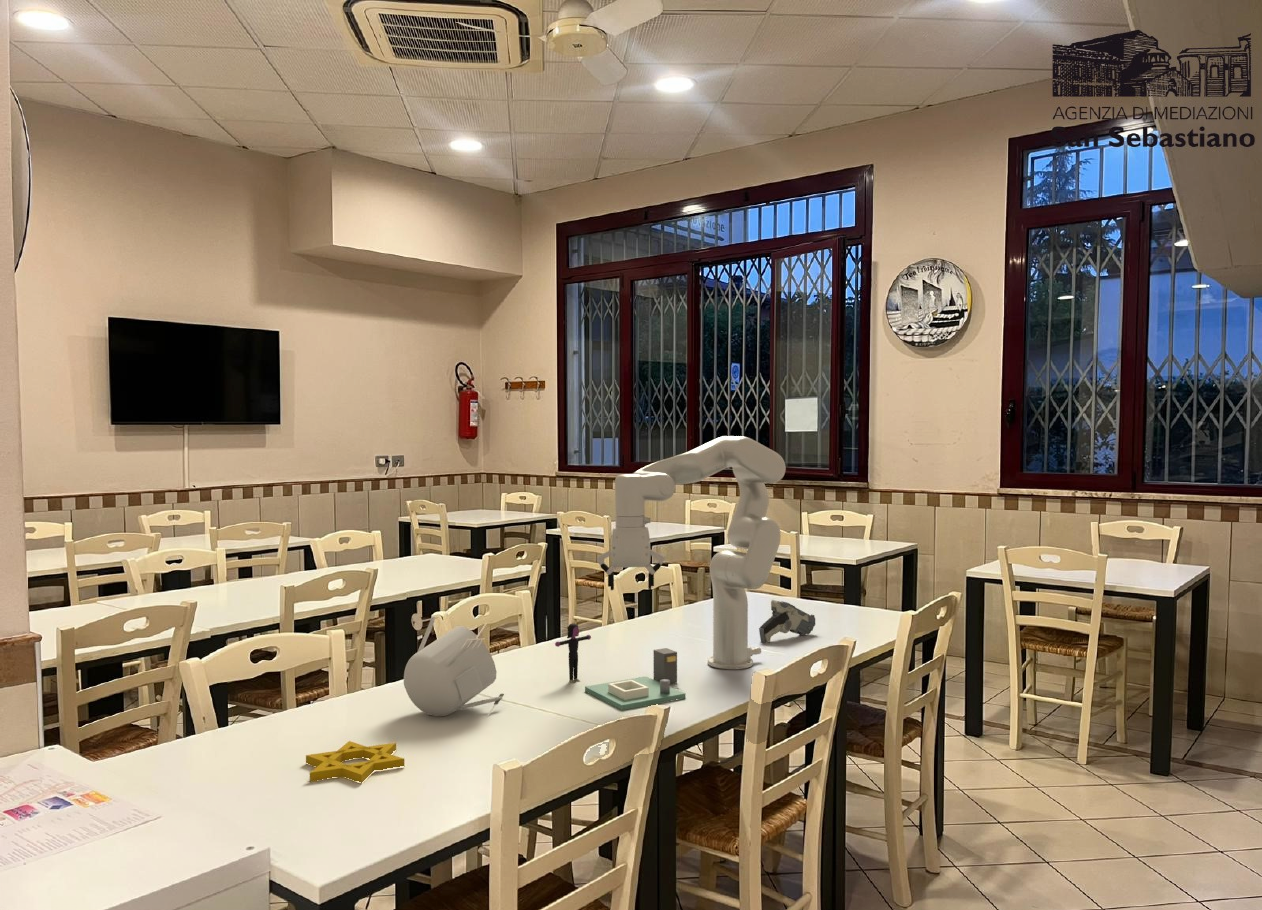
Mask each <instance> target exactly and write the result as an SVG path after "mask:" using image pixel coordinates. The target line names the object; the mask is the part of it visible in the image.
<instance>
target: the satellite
mask: <svg viewBox="0 0 1262 910" xmlns="http://www.w3.org/2000/svg"><path fill="white" fill-rule="evenodd" d="M437 619H439V618H438V616H436V617H435V616H434V615H432V616H431V618H427V619H422V617H421V615H420V614H419V613H413V614H412V616H411V624H412V627H413V628H414V630H416V631H421V630H422V629H423V628H422V627H423V622H427V621H429V622H428V625H427V628H426V630H425V632H424V635H423V638H422V640H421V643H420V645H419V648H418V649H417V652H415V654H413V655H412V656H411V657H410V658H409V659H408V661H407V663H406V665H405V668H404V672H403V686H404V689H405V691H406V694H407V695H408V698H409V699H410V701H411V702H412V704H413V705H414V706H416V708H418V710H420V711H421V712H423V713H425V714H426V715H429V716H433V717H446V716H448V715H449V716H450V715H451V714H453V713H454V712H456V711H457V710H458V711H459V710H464V709H469V708H472V707H477V706H481V705H485V704H491V703H493V706H492V708H491V709H490V711H489V713H488V714H487V716H490V714H491V713H492V711H493V710H494V708H495V707H496V706H497V705H498V704H499V703H500V702H501V700H503V697H504V695H505V693H499V695H498V696H495V697H490V698H486V699H481V700H477V701H474V702H469V701H472V699H474V698H475V697H476V696H478V695H479V694H480V693H482V692H483V691H484V690H486V689H488V687H490V686H491V685H492V684H494V683H495V681H496V679H497V667H496V664H495V661H494V659H493V656H492V654H491V653H490V651H489V649H488V647H487V646H486V644H485V643H484V641H485V640H486V638H484V637H483V638H480V637H481V636H482V633H483V632H484V629H485V628H486V627H487V625H488V623H487V622H485V623H484V625H483V627H482V628H481V629H480V631H479V633H478V634H476V633H475V632H473V631H472V629H470V628H468V627H466V626H463V625H457V626H455V627H453V628H452V629H450V630H449V631H447V632H446V633H445V634H443V635H441V636H440V637H438V638H437V639H435V640H434V641H433V642H431V643H429V644H428V645H426V643H427V640H428V638H429V636H430V633H431V631H432V629H433V626H434V625H435V620H437ZM425 645H426V646H425ZM468 702H469V703H468Z"/></svg>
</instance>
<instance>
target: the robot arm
mask: <svg viewBox="0 0 1262 910" xmlns="http://www.w3.org/2000/svg"><path fill="white" fill-rule="evenodd" d="M727 468H732V473H733V475H734V477H735V479H736V482H737V484H738V489H739V498H738V501H737V505H736V507H735V511H734V512H733V515H732V518H731V521H730V523H729V527H728V530H727V534H726V535H727V536H726V537H727V541H728V543H729V544H730V545H731V546H733V547H735V548H738V549H743V550H747V552H743V551H737V550H730V549H729V550H726V549H725V550H720V551H718V552H716V554H714V555H713V557H712V558H711V560H710V562H709V574H710V575H709V576H710V581H711V586H712V597H713V598H712V599H713V600H712V601H713V603H712V604H713V605H712V606H713V608H712V610H713V613H712V614H713V615H712V618H713V620H712V621H713V622H712V624H713V625H712V626H713V627H712V635H713V636H712V640H713V641H712V647H713V648H712V653H713V654H712V656H709V657H708V658H707V664H708V666H710V667H713V668H716V669H724V670H742V669H748V668H750V667H752V666H753V665H754V660H753V659H752V657H753V656H754V655H756V656H757V655H760V654H762V648H761V647H759V646H757V647H753V648H752V647H751V646H748V645H749V643H748V637H749V636H748V635H749V634H748V633H749V632H748V630H749V629H748V627H749V623H748V621H749V620H748V619H749V617H748V615H749V614H748V613H749V612H748V611H749V609H748V608H749V607H748V606H749V604H748V603H749V602H748V597H747V596H748V595H747V592H746V589H747V590H757V589H760V588H762V587H763V585H764V584H765V583H766V581H767V580H768V577H769V575H770V572H771V570H772V567H773V564H774V562H775V558H776V556H777V553H778V550H779V548H780V544H781V535H782V533H781V528H780V527H779V525H778V523H777V522H776V521H775V520H774V519H773V518H771V517H767V516H766V515H767V513H768V508H769V507H770V497H769V492H768V489H767V487H766V485H765V484H775V483H778V482H779V481H781V480H782V479H783V478H784V476H785V473H786V471H787V469H786V462H785V460H784V459H783V457H782V455H780V454H779V453H778V452H776V451H774V450H773V449H770V448H769V447H767V446H765V445H764V444H761V443H760V442H758V441H756V440H754V439H753V438H750V437H747V436H741V435H740V436H739V435H738V436H737V435H736V436H734V435H728V436H727V435H722V436H720V437H717V438H715V439H712V440H710V441H708V442H705V443H704V444H702V445H699V446H697V447H695V448H693V449H691V450H689V451H686V452H684V453H680V454H677V455H675V456H674V455H673V456H670V457H668V458H664V459H662V460H658V461H656V462H653V463H650V464H648V465H645V466H644V467H641V468H640V469H638V470H636V471H634V472H632V473H623V474H622V473H621V474H618V475H616V477H615V480H614V491H615V492H614V493H615V495H614V498H615V499H614V500H615V501H614V502H615V503H614V505H615V506H614V507H615V508H614V509H615V515H614V516H615V526H614V527H613V528H612V530H611V538H610V539H611V541H610V549H609V550H607V551H605V552H604V553H602V554H600V555H598V556H597V557H596V561H597V563H598V564H599V566H600V569H602V570H603V571H604V572H605V573H606V575H607V587H610V591H614V590H615V582H614V581H615V579H614V578H615V576H614V575H615V574H614V571H615V570H616V569H617V568H645V569H646V570H647V571H648V573H647V576H648V577H647V579H648V583H647V585H648V587H647V588H648V591H652V587H654V586H655V574H656V572H657V571H658V570H659V569H660V568H661V566H662V565H663V563H664V560H665V559H666V558H665V556H664V555H663V554H661V553H659V552H658V551H657V552H656V551H655V550H653V549H652V548H651V540H650V532H649V527H648V526H646V525H647V524H651V522H652V521H651V517H646V507H645V506H646V501H648V502H666V501H668V500H669V499H671V498H672V497H673V495H674V494H675V491H676V485H677V486H678V485H688V484H692V483H693V484H694V483H697V482H701V481H703V480H705V479H707V478H709V477H712V476H713V475H715V474H717V473H720V472H721V471H723V470H725V469H727ZM609 557H610V564H611V565H610V566H608V564H606V563H605V561H604V560H605V559H608V558H609ZM652 557H654V558H655V559H657V562H656V563H655V564H654V565H651V560H652V559H651V558H652Z"/></svg>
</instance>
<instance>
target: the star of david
mask: <svg viewBox="0 0 1262 910" xmlns="http://www.w3.org/2000/svg"><path fill="white" fill-rule="evenodd" d="M395 750H396V751H397V742H391V743H383V744H378V745H377V744H376V745H369V746H366V745H363V744H360V743H356V742H355V741H351V740H349V741H347V742H346V743H344V745H342V746H341V747H340V748H339V749H338V750H334V751H328V752H319V753H312V754H306V755H305V764H306V763H308V764H310V765H312V766H311V767H313V766H316V767H314V769H313V770H311V771H310V772H309V782H310V781H314V782H318V781H317V780H321V781H323V780H322V779H327V778H332V777H341V778H343V777H346V778H349V779H352V780H354V781H359V782H361V783H362V782H363V781H364V780H365V779H366V778H367V777H368V776H369V775H370V774H371V773H372V772H373V771H374V770H383V769H387V768H393V767H400V766H404V767H405V758H404V757H400V756H397V755H394V754H393V755H391V754H392V753H393V751H395ZM362 757H364V758H369V759H370V760H365V761H361V762H354V763H348V764H347V763H344V762H346V761H345V760H349V759H353V758H362ZM342 761H344V762H342ZM341 762H342V763H341ZM310 765H309V766H310ZM346 778H345V779H346ZM354 781H353V782H354Z"/></svg>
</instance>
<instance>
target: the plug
mask: <svg viewBox="0 0 1262 910" xmlns="http://www.w3.org/2000/svg"><path fill="white" fill-rule="evenodd" d="M662 679H667V680H670V685H672V684H677V683H678V651H675V650H673V649H671V648H667V647H666V648H664V647H663V648H659V649H653V680H656V681H658V682H660V680H662Z"/></svg>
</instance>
